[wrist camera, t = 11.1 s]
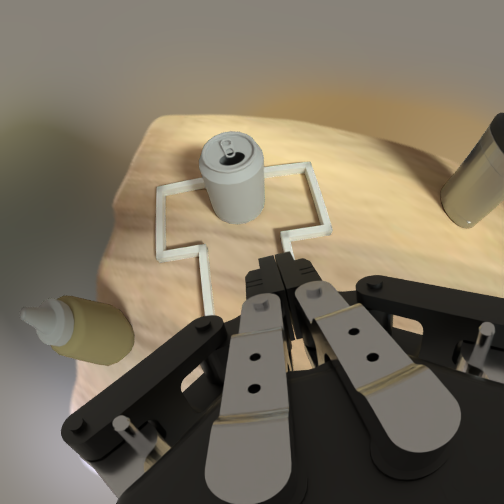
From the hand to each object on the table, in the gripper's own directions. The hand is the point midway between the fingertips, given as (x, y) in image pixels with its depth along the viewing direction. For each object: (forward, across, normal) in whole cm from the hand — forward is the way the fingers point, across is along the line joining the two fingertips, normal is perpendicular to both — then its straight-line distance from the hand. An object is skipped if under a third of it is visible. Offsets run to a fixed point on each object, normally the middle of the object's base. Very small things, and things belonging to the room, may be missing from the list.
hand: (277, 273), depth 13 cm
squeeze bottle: (+17, +22, +12) cm, 31 cm away
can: (+28, +2, +1) cm, 29 cm away
